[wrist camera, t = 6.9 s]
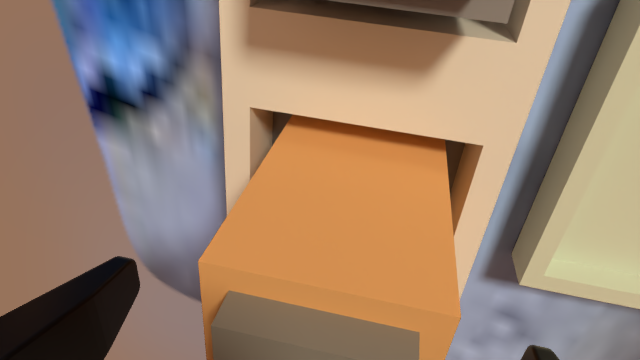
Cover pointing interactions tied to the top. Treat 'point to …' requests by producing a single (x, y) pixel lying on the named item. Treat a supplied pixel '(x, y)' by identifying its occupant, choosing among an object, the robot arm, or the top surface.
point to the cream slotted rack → (390, 83)
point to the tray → (593, 184)
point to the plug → (336, 251)
